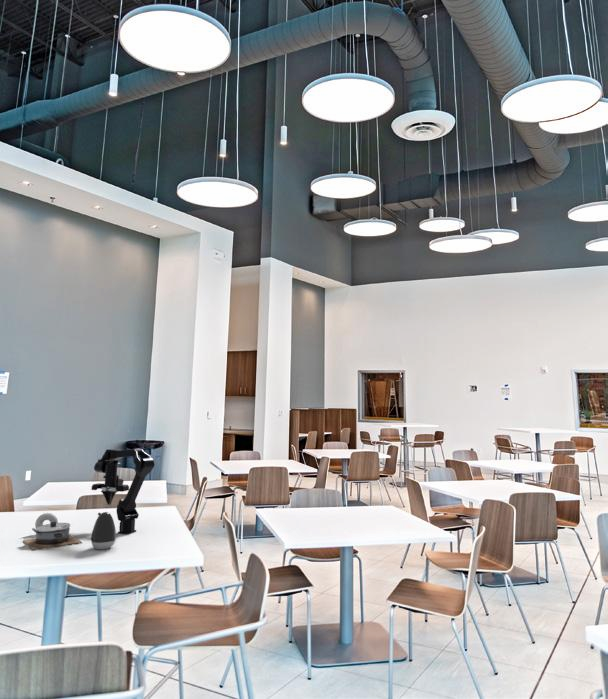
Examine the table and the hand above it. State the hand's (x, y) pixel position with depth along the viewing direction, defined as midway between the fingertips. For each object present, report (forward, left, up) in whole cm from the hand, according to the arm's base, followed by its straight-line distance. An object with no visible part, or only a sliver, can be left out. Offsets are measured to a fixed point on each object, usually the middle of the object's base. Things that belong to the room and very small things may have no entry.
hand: (109, 504), depth 260 cm
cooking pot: (+6, +32, -12) cm, 35 cm away
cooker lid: (+6, +32, -6) cm, 34 cm away
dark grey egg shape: (-22, +34, -12) cm, 42 cm away
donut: (+21, +19, -12) cm, 31 cm away
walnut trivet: (+6, +32, -12) cm, 35 cm away
